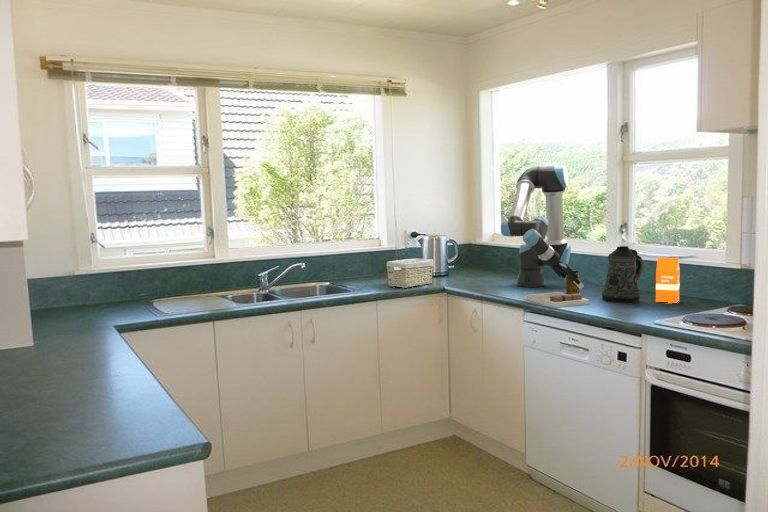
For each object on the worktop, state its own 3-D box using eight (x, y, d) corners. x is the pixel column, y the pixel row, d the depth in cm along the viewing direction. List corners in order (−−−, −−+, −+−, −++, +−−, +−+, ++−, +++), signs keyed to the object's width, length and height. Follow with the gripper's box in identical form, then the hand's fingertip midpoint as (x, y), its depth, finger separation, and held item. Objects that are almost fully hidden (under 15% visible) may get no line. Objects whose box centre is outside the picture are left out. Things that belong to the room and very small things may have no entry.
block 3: (569, 302, 285) (569, 294, 285) (577, 302, 286) (577, 293, 286) (573, 304, 282) (573, 295, 281) (581, 303, 282) (581, 294, 282)
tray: (525, 300, 298) (525, 295, 298) (558, 297, 304) (558, 291, 303) (554, 308, 275) (554, 303, 275) (589, 305, 281) (589, 299, 281)
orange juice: (677, 303, 277) (677, 258, 275) (655, 302, 282) (655, 258, 280) (679, 300, 284) (679, 257, 282) (658, 299, 288) (658, 256, 286)
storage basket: (415, 282, 370) (414, 257, 369) (435, 284, 358) (435, 258, 357) (385, 287, 354) (384, 261, 352) (406, 290, 342) (405, 263, 341)
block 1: (549, 304, 282) (549, 296, 282) (557, 303, 283) (557, 295, 283) (554, 306, 278) (554, 297, 278) (562, 305, 280) (562, 296, 279)
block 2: (559, 303, 283) (559, 295, 283) (566, 302, 285) (565, 294, 285) (565, 305, 280) (565, 296, 279) (572, 304, 281) (572, 295, 281)
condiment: (580, 296, 299) (580, 271, 298) (561, 295, 302) (561, 271, 300) (579, 293, 306) (579, 269, 305) (562, 293, 309) (561, 268, 307)
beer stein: (596, 302, 288) (596, 248, 285) (611, 295, 302) (612, 244, 300) (633, 305, 277) (633, 249, 274) (647, 298, 292) (647, 245, 289)
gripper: (532, 259, 306) (562, 289, 313) (554, 263, 288) (585, 295, 295) (542, 247, 307) (571, 278, 314) (564, 251, 289) (595, 283, 296)
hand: (578, 286), depth 304 cm, fingers closed on condiment, 6 cm apart
